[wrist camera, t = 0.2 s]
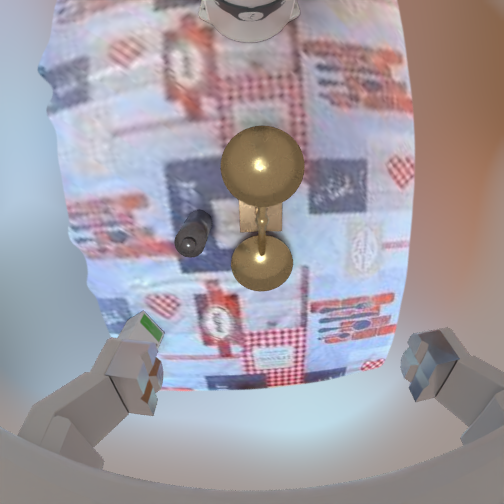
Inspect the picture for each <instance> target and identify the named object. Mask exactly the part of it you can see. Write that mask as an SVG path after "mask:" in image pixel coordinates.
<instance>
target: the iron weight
mask: <svg viewBox="0 0 504 504" xmlns="http://www.w3.org/2000/svg"><path fill="white" fill-rule="evenodd" d="M211 226H212V219H211V217H210V215H209V214H208V213H207V212H205V211H203V210H195V211H193V212H192V213H191V214H190V215H189V216H188V218H187V219H186V221H185V222H184V224H183V226H182V227H181V229H180V230H179V232H178V234H177V235H176V237H175V247H176V249H177V251H178V252H179V253H180V254H181V255H183V256H185V257H196V256H198V255H199V254H201V253H202V251H203V249H204V247H205V244H206V241H207V238H208V235H209V232H210V229H211Z"/></svg>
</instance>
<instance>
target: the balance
mask: <svg viewBox="0 0 504 504" xmlns="http://www.w3.org/2000/svg"><path fill="white" fill-rule="evenodd" d="M221 174H222V178H223V181H224V183H225V185H226V187H227V189H228V190H229V191H230V193H231V194H232V195H233V196H234V197H236V198H237V199H238V200H239V212H240V232H258V235H256V236H252V237H250V238H247V239H246V240H244V241H243V242H241V243H240V244H239V245H238V246H237V248H236V249H235V251H234V253H233V256H232V260H231V268H232V272H233V275H234V277H235V278H236V280H237V281H238V282H239V283H240V284H241V285H243V286H244V287H246V288H248V289H250V290H254V291H269V290H272V289H275V288H277V287H279V286H280V285H282V284H283V283H284V282H285V281H286V280H287V279H288V277H289V276H290V274H291V271H292V267H293V259H292V255H291V252H290V250H289V248H288V247H287V246H286V244H285V243H284V242H282V241H281V240H279V239H278V238H275V237H273V236H269V235H266V231H282V202H284V201H285V200H287V199H288V198H290V197H291V196H292V195H293V194H294V193H295V192H296V190H297V189H298V187H299V186H300V184H301V181H302V179H303V175H304V158H303V154H302V151H301V149H300V147H299V146H298V144H297V143H296V141H295V140H294V139H293V138H292V137H291V136H290V135H289V134H287V133H286V132H284V131H282V130H280V129H278V128H275V127H270V126H255V127H251V128H248V129H245V130H243V131H241V132H240V133H238V134H237V135H236V136H234V137H233V138H232V139H231V141H230V142H229V143H228V144H227V146H226V148H225V150H224V152H223V155H222V159H221Z"/></svg>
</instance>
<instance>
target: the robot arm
mask: <svg viewBox="0 0 504 504" xmlns="http://www.w3.org/2000/svg"><path fill="white" fill-rule="evenodd" d="M204 9H206V10H204ZM198 14H199V18H200V19H202V20H204V21H206V22H208V23H211V24H212V25H213V26H214V27H215V28H216V29H217V30H218V31H219V32H220V33H221V34H222V35H224V36H226V37H228V38H230V39H232V40H235V41H239V42H259V41H263V40H266V39H269V38H271V37H273V36H274V35H276V34H277V33H279V32H280V31H281V30H282V28H283V27H284V26H285V25H286V24H287V23H288V22H289V21H291V20H293V19H295V18H297V17H298V16H299V15H300V9H299V6H298V3H297V0H202V1H201V5H200V9H199V13H198ZM408 345H409V348H408V349H407V350H406V351H405V352H404V353H403V356H402V358H401V371H402V374H403V376H404V378H405V379H406V380H408V381H409V382H410V386H409V389H410V392H411V394H412V396H413V398H414V400H415V402H418V401H422V400H426V399H431V398H435V397H436V398H435V399H436V400H437V401H438V402H440V403H441V404H442V405H443V406H444V407H446V408H447V409H448V410H449V411H451V412H452V413H453V414H454V415H455V416H457V417H458V418H459V419H460V420H461V421H462V422H464V423H465V424H466V425H467V426H468V427H469V428H468V429H467V430H466V431H465V432H464V433H463V434H462V436H461V438H460V439H461V441H462V443H463V446H462V447H459V448H457V449H455V450H452V451H450V452H448V453H445V454H443V455H440V456H438V457H435V458H432V459H430V460H427V461H424V462H421V463H418V464H415V465H413V466H409V467H406V468H403V469H400V470H396V471H392V472H389V473H385V474H381V475H377V476H373V477H369V478H364V479H359V480H355V481H349V482H344V483H338V484H332V485H325V486H317V487H309V488H299V489H286V490H268V491H267V490H266V491H236V490H235V491H234V490H215V489H202V488H192V487H184V486H175V485H169V484H163V483H156V482H152V481H147V480H141V479H136V478H133V477H128V476H124V475H120V474H116V473H113V472H109V471H105V470H102V468H103V465H104V460H103V458H102V457H101V456H100V455H99V454H98V452H96V450H95V449H94V448H93V447H95V446H96V445H97V444H98V443H99V442H100V441H101V440H102V439H103V438H104V437H105V436H106V435H107V434H108V433H109V432H110V431H111V430H112V429H114V428H115V427H116V426H117V425H118V424H119V423H120V422H121V421H122V420H123V419H124V418H125V417H126V416H127V415H128V413H134V414H141V415H149V416H153V415H154V412H155V408H156V405H157V401H158V399H157V396H156V394H155V393H156V392H158V391H159V390H160V389H161V387H162V383H163V367H162V363H161V361H160V360H159V359H158V358H157V357H156V356H157V353H158V350H157V347H156V344H155V343H153V342H147V341H138V340H129V339H119V338H112V337H111V338H109V339H108V340H107V341H106V343H105V345H104V347H103V349H102V350H101V352H100V354H99V356H98V358H97V360H96V361H95V363H94V365H93V367H92V369H91V371H90V372H85V373H83V374H82V375H80V376H79V377H77V378H75V379H74V380H72V381H71V382H69V383H68V384H66V385H64V386H63V387H61V388H60V389H58V390H56V391H55V392H53V393H52V394H50V395H48V396H47V397H45V398H44V399H42V400H41V401H39V402H37V403H36V404H34V405H33V406H32V408H31V410H30V412H29V414H28V416H27V418H26V420H25V421H24V423H23V425H22V427H21V429H20V431H19V434H18V435H15V434H13V433H11V432H9V431H7V430H6V429H4V428H2V427H0V504H504V372H503V371H501V370H499V369H497V368H495V367H494V366H492V365H490V364H488V363H486V362H485V361H483V360H481V359H479V358H477V357H476V356H471V355H470V354H469V353H468V351H467V350H466V348H465V347H464V346H463V344H462V343H461V341H460V340H459V339H458V337H457V336H456V335H455V333H454V332H453V331H452V329H450V328H448V327H446V328H441V329H437V330H431V331H425V332H419V333H413V334H412V335H411V336H410V338H409V340H408Z"/></svg>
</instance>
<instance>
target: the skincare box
mask: <svg viewBox="0 0 504 504" xmlns="http://www.w3.org/2000/svg"><path fill="white" fill-rule="evenodd" d="M163 335H164V332H163V331H162V330H161V329H160V328H159V327H158V326H157V324H156V323H155V322H154V321H153V320H152V319H151V318H150V317H149V316H148V315H147V314H146V313H145V311H142V312H140V313H139V314H137V315H135V316H134V317H132V318H131V319H129V320H128V321H127V322H126V324H125V326H124V328H123V329H122V331H121V333H120V334H119V336H118V338H119V339H129V340H138V341H147V342H153V343H155V344H156V347H157V350H158V348H159V345H160V343H161V340H162V338H163Z"/></svg>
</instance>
